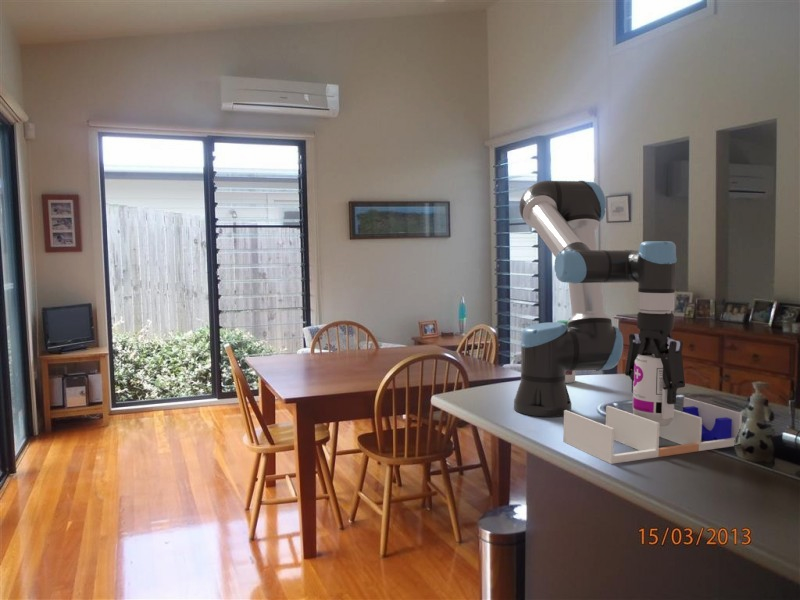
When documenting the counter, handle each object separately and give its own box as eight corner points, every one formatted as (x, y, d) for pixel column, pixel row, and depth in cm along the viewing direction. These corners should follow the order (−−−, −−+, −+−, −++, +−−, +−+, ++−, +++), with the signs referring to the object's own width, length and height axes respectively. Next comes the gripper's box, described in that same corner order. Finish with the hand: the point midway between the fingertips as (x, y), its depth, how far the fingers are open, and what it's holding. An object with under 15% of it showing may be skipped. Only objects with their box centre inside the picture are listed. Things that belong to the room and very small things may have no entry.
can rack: (610, 463, 129) (611, 428, 128) (563, 441, 144) (564, 410, 143) (740, 444, 141) (742, 413, 141) (684, 426, 156) (685, 397, 156)
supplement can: (634, 425, 139) (636, 357, 138) (631, 416, 147) (633, 352, 146) (674, 428, 137) (676, 359, 136) (669, 419, 145) (672, 353, 144)
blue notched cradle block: (676, 432, 152) (677, 407, 152) (692, 430, 153) (693, 406, 153) (713, 447, 141) (714, 420, 140) (730, 445, 142) (731, 419, 141)
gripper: (707, 315, 132) (703, 423, 134) (635, 307, 151) (632, 401, 153) (679, 316, 129) (675, 427, 131) (609, 308, 149) (607, 404, 150)
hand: (652, 413), depth 142 cm, fingers closed on supplement can, 8 cm apart
